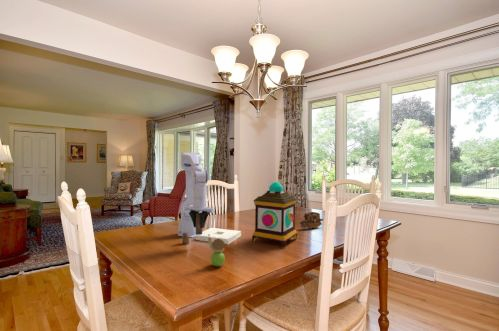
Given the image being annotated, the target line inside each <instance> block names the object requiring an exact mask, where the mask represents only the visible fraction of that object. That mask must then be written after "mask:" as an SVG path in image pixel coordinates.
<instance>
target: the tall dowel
mask: <svg viewBox="0 0 499 331" xmlns="http://www.w3.org/2000/svg"><path fill="white" fill-rule="evenodd" d="M202 232H203V228H201V227H200V215H199V213H198V214H196V235H201V234H202Z"/></svg>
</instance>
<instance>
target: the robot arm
mask: <svg viewBox="0 0 499 331" xmlns="http://www.w3.org/2000/svg"><path fill="white" fill-rule="evenodd" d="M201 161H202V155H201V153H200V152H184V151H183V152H181V156H180V162H181V163H180V166H181V169H182V170H184V171H185V172H184V173H185V196H186V198H185V201H183V202H181V204H180V216H181V218H180V219H179V221H178V234H177V236H178V237H179V236H180V237H183V233H185V232H188V233H189V238H190V239H191V238H196V214H198V213H199V215H200V227H201V228H202V229H204V228H205V226H206V223H207V219H208V217H209V215H210V214H214V213H215V207H209V206H207V205H206V204H207V200H206V198H207V184H208V179H209V177H208V171H207V170H204V168H203V165H202V164H201Z"/></svg>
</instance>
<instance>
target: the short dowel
mask: <svg viewBox="0 0 499 331" xmlns="http://www.w3.org/2000/svg"><path fill="white" fill-rule="evenodd" d="M189 244H190V237H189V233H188V232H185V233H183V236H182V245H185V246H186V245H189Z"/></svg>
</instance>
